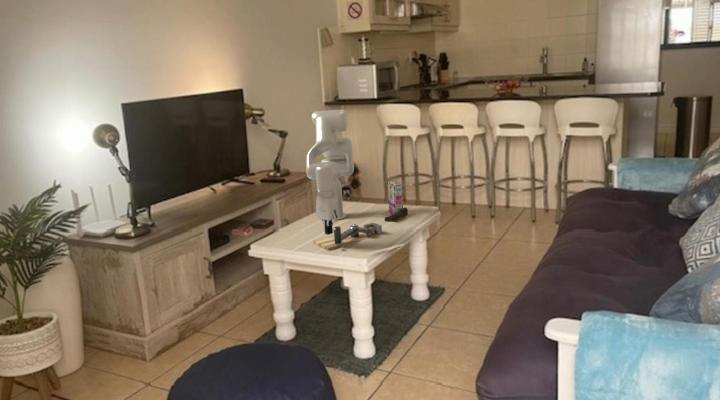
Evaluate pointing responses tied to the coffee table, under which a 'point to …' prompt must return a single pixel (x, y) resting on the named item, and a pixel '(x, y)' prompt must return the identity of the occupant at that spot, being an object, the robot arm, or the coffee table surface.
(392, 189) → the candy bar box
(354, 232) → the lever
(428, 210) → the coffee table surface
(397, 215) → the hand tool
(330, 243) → the tan wooden panel
